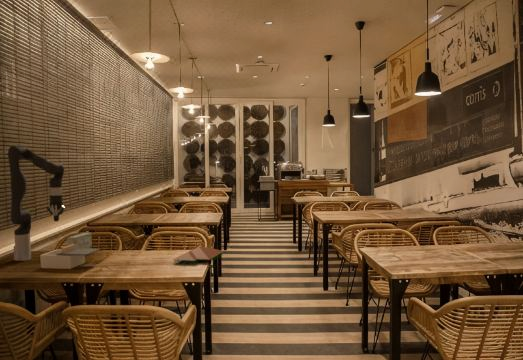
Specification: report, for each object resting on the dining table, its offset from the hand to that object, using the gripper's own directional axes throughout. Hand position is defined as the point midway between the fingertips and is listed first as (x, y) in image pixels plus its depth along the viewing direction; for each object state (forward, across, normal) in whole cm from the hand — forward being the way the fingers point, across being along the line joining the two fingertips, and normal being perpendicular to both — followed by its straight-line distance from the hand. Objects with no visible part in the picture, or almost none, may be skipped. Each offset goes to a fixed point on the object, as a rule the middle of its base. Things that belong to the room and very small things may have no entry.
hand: (56, 221), depth 298 cm
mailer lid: (+18, +20, -7) cm, 27 cm away
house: (+25, +90, +19) cm, 95 cm away
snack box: (+27, +6, +17) cm, 32 cm away
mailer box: (+26, +9, -7) cm, 29 cm away
